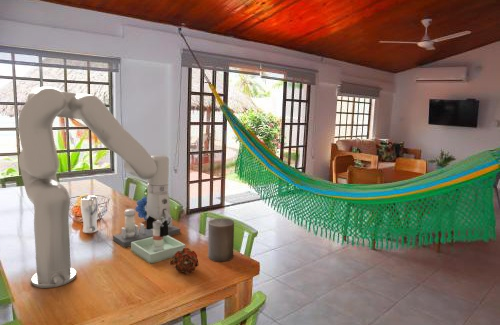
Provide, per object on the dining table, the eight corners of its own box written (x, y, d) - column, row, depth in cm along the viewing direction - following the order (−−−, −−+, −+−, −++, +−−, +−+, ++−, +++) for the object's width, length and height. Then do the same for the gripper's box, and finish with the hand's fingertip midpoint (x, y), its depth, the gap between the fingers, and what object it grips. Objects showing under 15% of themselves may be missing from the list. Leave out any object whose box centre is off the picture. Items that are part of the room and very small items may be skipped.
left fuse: (136, 236, 149) (136, 210, 147) (127, 238, 146) (127, 212, 145) (132, 233, 152) (132, 208, 150) (123, 235, 149) (122, 209, 147)
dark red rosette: (191, 283, 120) (176, 274, 130) (209, 263, 124) (193, 256, 134) (176, 266, 117) (161, 258, 127) (194, 246, 121) (179, 240, 130)
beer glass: (92, 234, 155) (91, 200, 152) (78, 232, 156) (76, 198, 153) (102, 229, 161) (101, 196, 159) (88, 227, 163) (87, 194, 160)
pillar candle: (238, 255, 140) (239, 217, 137) (223, 264, 131) (224, 224, 129) (217, 249, 145) (218, 213, 142) (202, 258, 136) (202, 219, 134)
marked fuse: (165, 250, 140) (165, 222, 138) (156, 253, 137) (156, 225, 135) (160, 247, 142) (160, 220, 141) (150, 249, 140) (150, 222, 138)
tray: (185, 253, 140) (185, 244, 139) (150, 263, 129) (150, 254, 129) (164, 241, 150) (164, 233, 149) (131, 250, 140) (130, 242, 139)
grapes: (139, 225, 168) (139, 200, 166) (133, 221, 173) (133, 196, 171) (162, 220, 176) (162, 196, 174) (156, 217, 181) (156, 193, 179)
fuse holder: (180, 233, 161) (180, 220, 160) (124, 247, 142) (123, 232, 141) (168, 226, 168) (168, 214, 167) (113, 240, 149) (112, 226, 148)
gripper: (179, 191, 132) (178, 236, 135) (155, 182, 144) (154, 224, 147) (161, 194, 127) (160, 241, 129) (137, 185, 139) (136, 228, 141)
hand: (157, 232), depth 138 cm, fingers open, 9 cm apart
